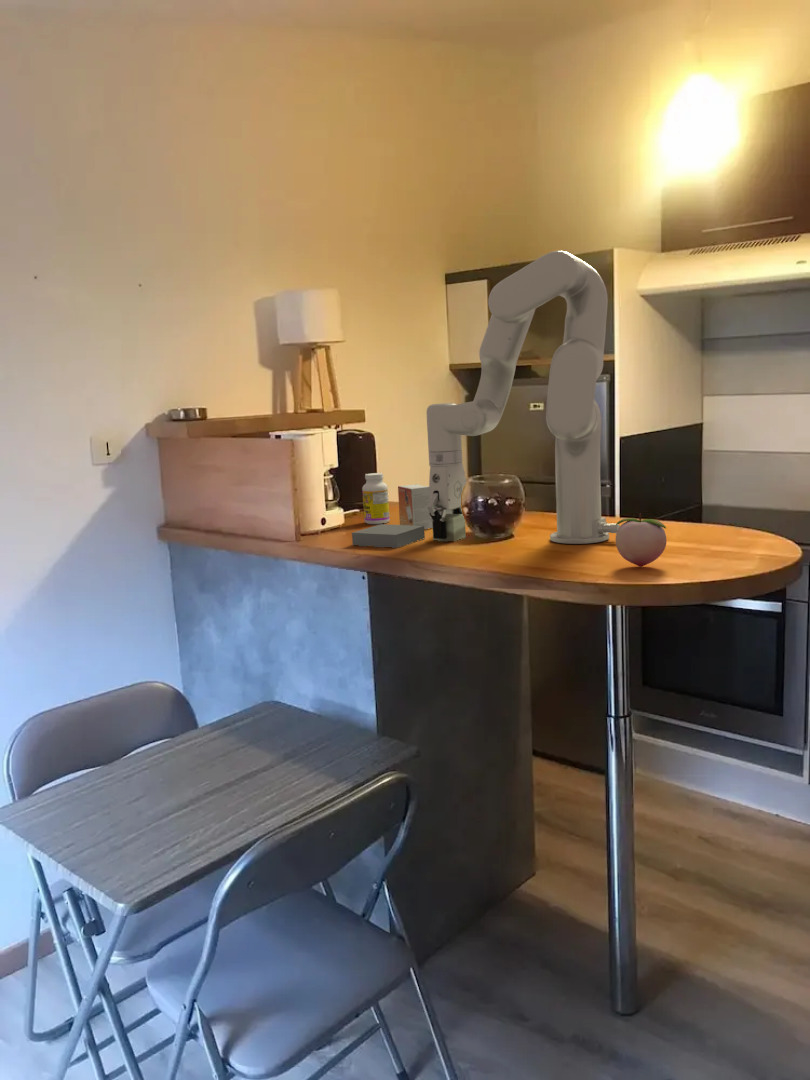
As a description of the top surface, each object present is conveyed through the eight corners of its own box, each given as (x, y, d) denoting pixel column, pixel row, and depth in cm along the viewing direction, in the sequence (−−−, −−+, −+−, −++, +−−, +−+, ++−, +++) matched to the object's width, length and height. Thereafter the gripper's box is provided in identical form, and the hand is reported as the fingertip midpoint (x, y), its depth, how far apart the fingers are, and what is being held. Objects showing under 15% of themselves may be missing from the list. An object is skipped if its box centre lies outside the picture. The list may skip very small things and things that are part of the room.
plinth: (424, 538, 212) (424, 525, 211) (397, 548, 202) (396, 534, 201) (381, 536, 218) (380, 524, 218) (352, 545, 208) (351, 532, 208)
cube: (465, 537, 211) (464, 514, 210) (454, 542, 206) (453, 518, 205) (444, 536, 213) (443, 513, 213) (433, 541, 209) (431, 517, 208)
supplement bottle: (362, 522, 243) (359, 473, 240) (386, 519, 244) (383, 471, 242) (367, 525, 236) (364, 476, 234) (392, 523, 238) (389, 474, 235)
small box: (399, 527, 231) (397, 485, 229) (419, 524, 233) (417, 483, 231) (413, 531, 223) (410, 488, 222) (433, 528, 226) (431, 486, 224)
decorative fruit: (610, 571, 167) (609, 517, 165) (619, 562, 174) (618, 510, 172) (663, 573, 163) (663, 517, 161) (670, 563, 170) (669, 510, 169)
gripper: (441, 462, 197) (445, 542, 200) (477, 454, 212) (481, 529, 215) (411, 462, 201) (415, 541, 204) (449, 454, 216) (453, 528, 219)
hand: (449, 534), depth 210 cm, fingers open, 7 cm apart
